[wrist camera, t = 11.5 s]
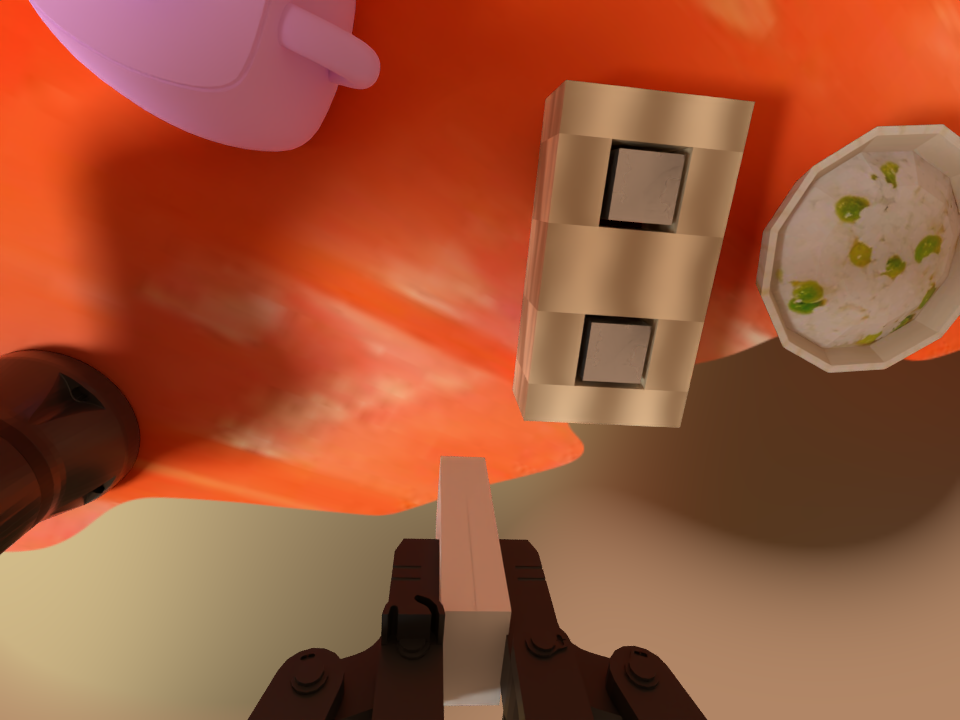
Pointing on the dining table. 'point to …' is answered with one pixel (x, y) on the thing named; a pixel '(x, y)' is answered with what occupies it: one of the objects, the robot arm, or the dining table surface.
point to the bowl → (867, 251)
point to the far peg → (613, 349)
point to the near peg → (641, 186)
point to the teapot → (221, 61)
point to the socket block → (623, 249)
